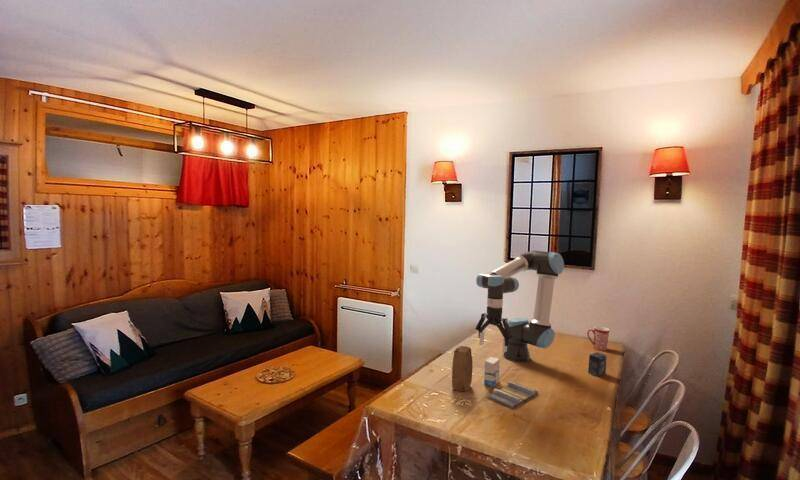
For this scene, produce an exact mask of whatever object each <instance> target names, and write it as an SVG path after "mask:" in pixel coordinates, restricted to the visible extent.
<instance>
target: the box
mask: <svg viewBox="0 0 800 480" xmlns="http://www.w3.org/2000/svg"><path fill="white" fill-rule="evenodd" d="M588 355H589V356H588V357H589V358H588V369H587V371H588V372H587V373H588V374H590V375H592V376H595V377H600V376H603V375H606V373H607V358H608V355H607V354H604V353H602V352H598V351H597V352H594V353H590V354H588Z"/></svg>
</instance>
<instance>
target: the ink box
mask: <svg viewBox="0 0 800 480" xmlns="http://www.w3.org/2000/svg"><path fill="white" fill-rule="evenodd" d="M500 362H501V361H500V359H499V358H497V357H494V356H493V357H492V356H490V357H488V358H487V359H486V360H484V376H483V377H484V380H483V381H484V383H483V385H485V386H489V387H494V386H496V385H497V384H498V383H499V382H500Z"/></svg>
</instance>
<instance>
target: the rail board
mask: <svg viewBox="0 0 800 480" xmlns="http://www.w3.org/2000/svg"><path fill="white" fill-rule="evenodd" d="M507 383H508V384H507V385H506V386H504V387H502V388H500V389H498V388H496V387H495V388H494V389H493V392H492V393H490V394H489V395H487V398H488V399H490V400H492V401H495V402H497V403H499V404H501V405H504V406H506V407H508V408H510V409H513V410H514V409H515V408H517V407H519V406H521V405H522V404H524V403H526V402H528V401H529V400H531V399H532V398H534V397H535V396H538V395H539V391H538V390H535V389H532V388H531V387H528V386H525V385H522V384H519V383H517V382H514V381H508V382H507Z"/></svg>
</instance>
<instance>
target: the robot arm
mask: <svg viewBox="0 0 800 480" xmlns="http://www.w3.org/2000/svg"><path fill="white" fill-rule="evenodd" d="M564 269H565V262H564V259H563V256H562V255H561V253H558V252H553V251H543V250H531V251H530V250H529V251H527V252H523V253H521V254H519V255H516V256H515V258H514V259H513V260H511V261H509V262H507V263H505V264H503V265H502V266H499V267H498V268H496V269H494V270H492V271H490V272H487V273H482V272H481V273H478V275H477V276H476V278H475V279H476V285H477V286H478V287H479V288H483V289H487V299H486V301H487V302H486V305H487V306H486V312H484V313H481V316H480V318H479V321H478V323H477V325H476V327H475V329H474V330H476V331H478V338H479V343H478V344H479V346H482V345H484V344H485V331H484V330H485V329H486V328H487V327H488V326H489V325H493V326H495V327H497V328H498V330H499V331H500V334H501V335H502V337H503V339H502V353H503V354H502V355H503V358H505V359H507V360H509V361H511V362H520V363H522V362H523V363H525V362H527V361H528V362H529V361H530V360H531V359H530V358H531V353H530V350H529V348H528V345H530V346H533V347H536V348H540V349H548V348H549V347H551V346H552V343H553V342H554V340H555V335H556V334H555V331H554V329H552V324H551V322H550V316H551V309H552V303H553V302H552V301H553V296H554V295H553V294H554V287H555V281H556V279H557V278H559V275H560V274H562V273H563V271H564ZM526 271H536V275H537V277H538V282H537V288H536V293H535V296H536V297H535V300H534V301H535V303H534V309H533V317H532V319H531V320H529V319H528V318H525V317H524V318H523V317H522V318H520V317H519V318H511V319H509V320H508V317H507V318H506V317H505V318H504V317H503V305H504V300H503V299H504V294H509V293H514V292H517V290H519V286H520V284H519V281H518V279H517V278H516V277H513V276H514V275H516V274H519V273H520V272H526ZM485 320H486V321H485ZM484 322H485V323H484ZM483 323H484V324H483Z"/></svg>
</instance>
